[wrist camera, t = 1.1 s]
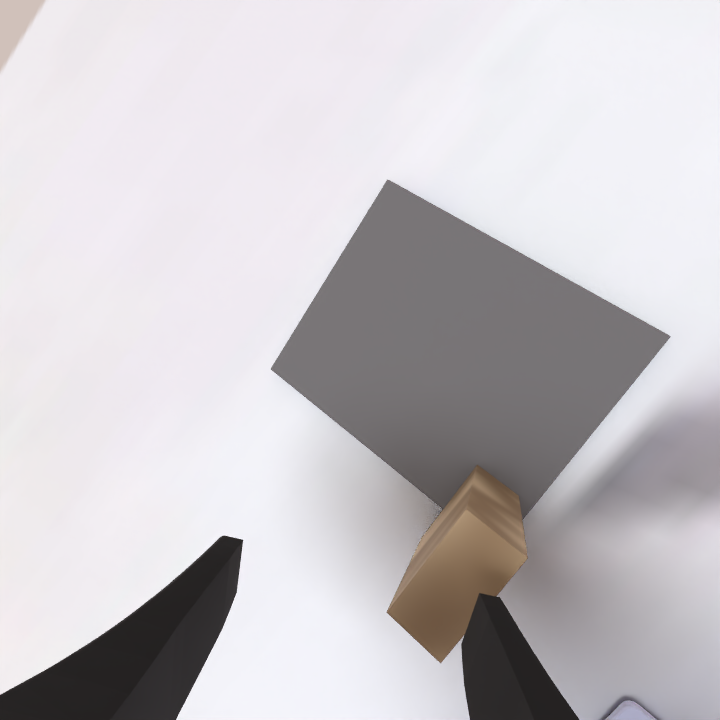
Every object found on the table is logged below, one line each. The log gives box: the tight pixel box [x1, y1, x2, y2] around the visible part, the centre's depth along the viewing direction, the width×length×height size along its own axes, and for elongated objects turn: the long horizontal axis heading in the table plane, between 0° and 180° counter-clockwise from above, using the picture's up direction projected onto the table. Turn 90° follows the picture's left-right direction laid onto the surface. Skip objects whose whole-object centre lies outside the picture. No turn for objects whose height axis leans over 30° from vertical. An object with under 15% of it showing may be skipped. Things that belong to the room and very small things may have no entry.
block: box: [387, 465, 528, 663], centre depth 17 cm, size 2×5×7 cm, turn 145°
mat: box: [271, 180, 671, 520], centre depth 22 cm, size 16×13×1 cm
